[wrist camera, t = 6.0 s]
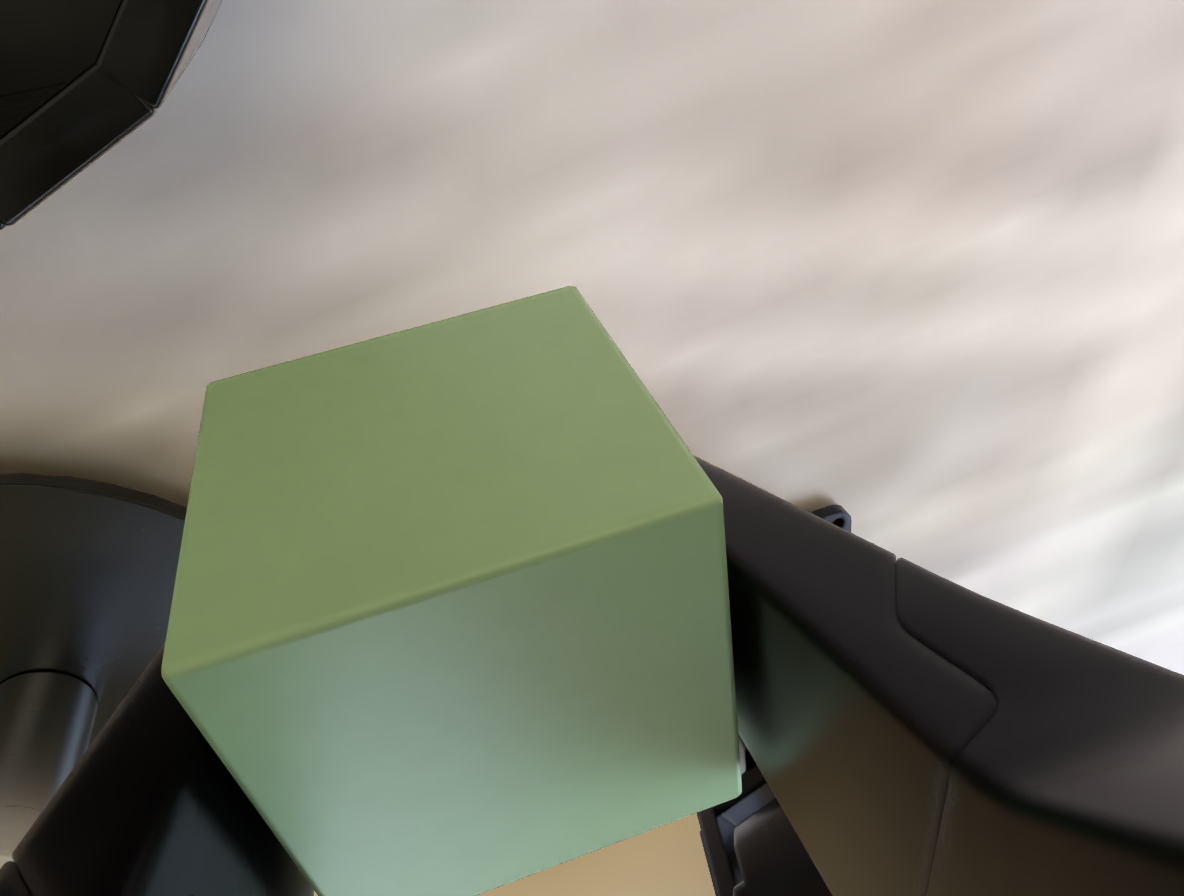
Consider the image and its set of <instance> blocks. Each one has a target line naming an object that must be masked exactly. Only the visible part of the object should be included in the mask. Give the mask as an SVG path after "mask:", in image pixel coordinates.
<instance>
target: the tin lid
mask: <svg viewBox="0 0 1184 896" xmlns="http://www.w3.org/2000/svg"><path fill="white" fill-rule="evenodd" d="M186 512H187V507H184V506H181V505H179V504H176V503H173V502H171V501H168V500H165V499H163V498H160V497H157V496H155V495H151V494H148V493H144V492H140V491H137V490H133V489H129V488H125V487H122V486H118V485H114V484H109V483H103V482H97V481H91V480H86V479H80V478H74V477H67V476H54V475H41V474H27V473H0V869H1V867H2V866H3V865H4V864H5V863H6V862H8V861H13V859H12V853H13V851H14V850H15V848H16V847H17V846H18V844H19V843H20V842H21V840H22V839H23V837H24V836H25V835H26V833H27V832H28V830H29V829H30V828H31V826H32V825H33V824H34V822H35V821H36V819H37V818H38V817H39V815H40V814H41V812H42V811H43V810H44V808H45V807H46V806H47V804H48V803H49V801H50V800H51V799H52V797H53V796H54V794H55V793H56V792H57V790H58V789H59V788H60V786H61V785H62V783H63V782H64V781H65V779H66V778H67V776H68V775H69V774H70V772H71V771H72V770H73V768H74V767H75V765H76V764H77V763H78V761H79V760H80V758H81V757H82V756H83V754H84V753H85V752H86V750H87V749H88V747H89V746H90V745H91V743H92V742H93V740H94V739H95V738H96V736H97V735H98V734H99V732H100V731H101V729H102V728H103V727H104V725H105V724H106V722H107V721H108V720H109V718H110V717H111V716H112V714H113V713H114V711H115V710H116V709H117V707H118V706H119V704H120V703H121V702H122V700H123V699H124V698H125V696H126V695H127V693H128V692H129V691H130V689H131V688H132V686H133V685H134V684H135V682H136V681H137V680H138V678H139V677H140V675H141V674H142V673H143V671H144V670H145V668H146V667H147V666H148V664H149V663H150V662H151V660H152V659H153V657H154V656H155V655H156V653H157V652H158V650H159V649H160V648H161V646H162V645H163V644H164V642H165V641H166V636H167V629H168V623H169V617H170V611H171V605H172V598H173V592H174V586H175V580H176V574H177V567H178V561H179V555H180V549H181V543H182V536H183V530H184V524H185V518H186ZM13 862H14V861H13Z"/></svg>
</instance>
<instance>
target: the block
mask: <svg viewBox="0 0 1184 896" xmlns="http://www.w3.org/2000/svg"><path fill="white" fill-rule="evenodd" d="M161 675H162V678H163V680H164V682H165V683H166V684H167V686H168V687H169V689H170V690H171V691H172V693H173V694H174V696H175V697H176V698H177V700H178V701H179V703H180V704H181V705H182V707H183V708H184V710H185V711H186V712H187V714H188V715H189V717H190V718H191V719H192V721H193V722H194V723H195V725H196V726H197V728H198V729H199V730H200V732H201V733H202V735H203V736H204V737H205V739H206V740H207V742H208V743H209V744H210V746H211V747H212V749H213V750H214V751H215V753H216V754H217V755H218V757H219V758H220V760H221V761H222V762H223V764H224V765H225V767H226V768H227V769H228V771H229V772H230V774H231V775H232V776H233V778H234V779H235V781H236V782H237V783H238V785H239V786H240V787H241V789H242V790H243V792H244V793H245V794H246V796H247V797H248V799H249V800H250V801H251V803H252V804H253V806H254V807H255V808H256V810H257V811H258V813H259V814H260V815H261V817H262V818H263V820H264V821H265V822H266V824H267V825H268V826H269V828H270V829H271V831H272V832H273V833H274V835H275V836H276V838H277V839H278V840H279V842H280V843H281V845H282V846H283V847H284V849H285V850H286V852H287V853H288V854H289V856H290V857H291V858H292V860H293V861H294V863H295V864H296V865H297V867H298V868H299V870H300V871H301V872H302V874H303V875H304V877H305V878H306V879H307V881H308V882H309V884H310V885H311V886H312V888H313V889H314V891H315V892H316V893H317V894H318V896H476V895H479V894H482V893H485V892H487V891H490V890H492V889H495V888H498V887H500V886H503V885H506V884H508V883H511V882H514V881H516V880H519V879H521V878H524V877H527V876H530V875H532V874H535V873H538V872H540V871H543V870H546V869H548V868H551V867H554V866H556V865H559V864H562V863H564V862H567V861H570V860H572V859H575V858H577V857H580V856H583V855H585V854H588V853H591V852H593V851H596V850H599V849H601V848H604V847H607V846H609V845H612V844H615V843H617V842H620V841H623V840H625V839H628V838H630V837H633V836H636V835H639V834H641V833H644V832H647V831H649V830H652V829H654V828H657V827H660V826H663V825H665V824H668V823H670V822H673V821H676V820H678V819H681V818H684V817H686V816H689V815H691V814H694V813H697V812H700V811H702V810H705V809H708V808H710V807H713V806H716V805H718V804H721V803H724V802H726V801H729V800H732V799H734V798H737V797H738V796H739V795H740V794H741V793H742V780H741V765H740V751H739V736H738V721H737V706H736V691H735V677H734V662H733V647H732V632H731V617H730V602H729V588H728V573H727V558H726V543H725V528H724V514H723V499H722V496H721V495H720V493H719V492H718V490H717V489H716V488H715V486H714V485H713V483H712V482H711V480H710V479H709V477H708V476H707V475H706V473H705V472H704V470H703V469H702V467H701V466H700V465H699V463H698V462H697V460H696V459H695V457H694V456H693V455H692V453H691V452H690V450H689V449H688V447H687V446H686V445H685V443H684V442H683V440H682V439H681V437H680V436H679V434H678V433H677V432H676V430H675V429H674V427H673V426H672V424H671V423H670V422H669V420H668V419H667V417H666V416H665V414H664V413H663V412H662V410H661V409H660V407H659V406H658V404H657V403H656V401H655V400H654V399H653V397H652V396H651V394H650V393H649V391H648V390H647V389H646V387H645V386H644V384H643V383H642V381H641V380H640V379H639V377H638V376H637V374H636V373H635V371H634V370H633V369H632V367H631V366H630V364H629V363H628V361H627V360H626V358H625V357H624V356H623V354H622V353H621V351H620V350H619V348H618V347H617V346H616V344H615V343H614V341H613V340H612V338H611V337H610V336H609V334H608V333H607V331H606V330H605V328H604V327H603V326H602V324H601V323H600V321H599V320H598V318H597V317H596V315H595V314H594V313H593V311H592V310H591V308H590V307H589V305H588V304H587V303H586V301H585V300H584V298H583V297H582V295H581V294H580V293H579V291H578V290H577V288H576V287H574V286H567V287H564V288H560V289H556V290H553V291H549V292H545V293H541V294H538V295H534V296H530V297H527V298H523V299H519V300H515V301H512V302H508V303H504V304H500V305H497V306H493V307H489V308H486V309H482V310H478V311H474V312H471V313H467V314H463V315H459V316H456V317H452V318H448V319H445V320H441V321H437V322H433V323H430V324H426V325H422V326H419V327H415V328H411V329H407V330H404V331H400V332H396V333H392V334H389V335H385V336H381V337H378V338H374V339H370V340H366V341H363V342H359V343H355V344H351V345H348V346H344V347H340V348H337V349H333V350H329V351H325V352H322V353H318V354H314V355H311V356H307V357H303V358H299V359H296V360H292V361H288V362H284V363H281V364H277V365H273V366H270V367H266V368H262V369H258V370H255V371H251V372H247V373H243V374H240V375H236V376H232V377H229V378H225V379H221V380H217V381H214V382H212V383H210V384H209V385H208V386H207V388H206V394H205V400H204V406H203V413H202V419H201V425H200V431H199V437H198V444H197V450H196V456H195V462H194V468H193V474H192V481H191V487H190V493H189V499H188V505H187V512H186V518H185V524H184V530H183V536H182V543H181V549H180V555H179V561H178V567H177V574H176V580H175V586H174V592H173V598H172V605H171V611H170V617H169V623H168V629H167V636H166V642H165V648H164V654H163V660H162V667H161Z"/></svg>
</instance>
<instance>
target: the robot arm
mask: <svg viewBox="0 0 1184 896" xmlns="http://www.w3.org/2000/svg"><path fill="white" fill-rule="evenodd" d="M693 456H694V455H693ZM694 457H695V459H696V460H697V462H698V463H699V465H700V466H701V467H702V469H703V470H704V472H705V473H706V475H707V476H708V477H709V479H710V480H711V482H712V483H713V485H714V486H715V488H716V489H717V490H718V492H719V493H720V495H721V496H722V499H723V514H724V528H725V543H726V558H727V573H728V588H729V602H730V617H731V632H732V647H733V662H734V677H735V691H736V706H737V721H738V736H739V751H740V765H741V780H742V793H741V794H740V795H739V796H738V797H737V798H734V799H732V800H729V801H726V802H724V803H721V804H718V805H716V806H713V807H710V808H708V809H705V810H702V811H700V812H697V816H698V820H699V823H700V827H701V831H700V836H701V839H702V843H703V847H704V851H705V855H706V859H707V863H708V867H709V871H710V875H711V878H712V882H713V886H714V890H715V894H716V896H1184V675H1182V674H1179V673H1176V672H1173V671H1171V670H1168V669H1166V668H1163V667H1161V666H1158V665H1155V664H1153V663H1150V662H1148V661H1145V660H1143V659H1140V658H1137V657H1135V656H1132V655H1130V654H1127V653H1125V652H1122V651H1119V650H1117V649H1114V648H1112V647H1109V646H1107V645H1104V644H1101V643H1099V642H1096V641H1094V640H1091V639H1089V638H1086V637H1084V636H1081V635H1078V634H1076V633H1073V632H1071V631H1068V630H1066V629H1063V628H1060V627H1058V626H1055V625H1053V624H1050V623H1048V622H1045V621H1042V620H1040V619H1037V618H1035V617H1032V616H1030V615H1028V614H1025V613H1023V612H1020V611H1018V610H1015V609H1013V608H1011V607H1008V606H1006V605H1003V604H1001V603H998V602H996V601H994V600H991V599H989V598H986V597H984V596H981V595H979V594H977V593H975V592H973V591H971V590H968V589H966V588H964V587H962V586H960V585H958V584H956V583H953V582H951V581H949V580H947V579H945V578H943V577H940V576H938V575H936V574H934V573H932V572H930V571H928V570H926V569H924V568H922V567H920V566H918V565H916V564H914V563H912V562H910V561H907V560H905V559H903V558H898V559H897V561H896V556H895V555H894V554H893V553H891V552H889V551H887V550H885V549H883V548H881V547H878V546H876V545H874V544H872V543H870V542H868V541H866V540H864V539H862V538H860V537H858V536H856V535H854V534H852V533H851V517H850V515H849V514H848V513H847V512H846V511H845V509H844V508H843V507H842V506H840V505H832V506H828V507H825V508H822V509H819V510H816V511H813V512H807V511H805V510H803V509H801V508H799V507H797V506H795V505H793V504H791V503H789V502H787V501H785V500H783V499H781V498H779V497H777V496H775V495H773V494H771V493H769V492H767V491H765V490H763V489H761V488H759V487H757V486H755V485H753V484H751V483H749V482H747V481H745V480H743V479H741V478H738V477H736V476H734V475H732V474H730V473H728V472H726V471H724V470H722V469H720V468H718V467H716V466H714V465H712V464H710V463H708V462H706V461H704V460H702V459H700V458H698V457H696V456H694ZM834 520H835V521H834ZM833 521H834V522H833ZM165 642H166V641H165ZM165 642H164V644H163V645H162V646H161V648H160V649H159V650H158V652H157V653H156V655H155V656H154V657H153V659H152V660H151V662H150V663H149V664H148V666H147V667H146V668H145V670H144V671H143V673H142V674H141V675H140V677H139V678H138V680H137V681H136V682H135V684H134V685H133V686H132V688H131V689H130V691H129V692H128V693H127V695H126V696H125V698H124V699H123V700H122V702H121V703H120V704H119V706H118V707H117V709H116V710H115V711H114V713H113V714H112V716H111V717H110V718H109V720H108V721H107V722H106V724H105V725H104V727H103V728H102V729H101V731H100V732H99V734H98V735H97V736H96V738H95V739H94V740H93V742H92V743H91V745H90V746H89V747H88V749H87V750H86V752H85V753H84V754H83V756H82V757H81V758H80V760H79V761H78V763H77V764H76V765H75V767H74V768H73V770H72V771H71V772H70V774H69V775H68V776H67V778H66V779H65V781H64V782H63V783H62V785H61V786H60V788H59V789H58V790H57V792H56V793H55V794H54V796H53V797H52V799H51V800H50V801H49V803H48V804H47V806H46V807H45V808H44V810H43V811H42V812H41V814H40V815H39V817H38V818H37V819H36V821H35V822H34V824H33V825H32V826H31V828H30V829H29V830H28V832H27V833H26V835H25V836H24V837H23V839H22V840H21V842H20V843H19V844H18V846H17V847H16V848H15V850H14V851H13V853H12V859H13V861H14V862H13V861H8V862H6V863H5V864H4V865H3V866H2V867H1V869H0V896H314V889H313V888H312V886H311V885H310V884H309V882H308V881H307V879H306V878H305V877H304V875H303V874H302V872H301V871H300V870H299V868H298V867H297V865H296V864H295V863H294V861H293V860H292V858H291V857H290V856H289V854H288V853H287V852H286V850H285V849H284V847H283V846H282V845H281V843H280V842H279V840H278V839H277V838H276V836H275V835H274V833H273V832H272V831H271V829H270V828H269V826H268V825H267V824H266V822H265V821H264V820H263V818H262V817H261V815H260V814H259V813H258V811H257V810H256V808H255V807H254V806H253V804H252V803H251V801H250V800H249V799H248V797H247V796H246V794H245V793H244V792H243V790H242V789H241V787H240V786H239V785H238V783H237V782H236V781H235V779H234V778H233V776H232V775H231V774H230V772H229V771H228V769H227V768H226V767H225V765H224V764H223V762H222V761H221V760H220V758H219V757H218V755H217V754H216V753H215V751H214V750H213V749H212V747H211V746H210V744H209V743H208V742H207V740H206V739H205V737H204V736H203V735H202V733H201V732H200V730H199V729H198V728H197V726H196V725H195V723H194V722H193V721H192V719H191V718H190V717H189V715H188V714H187V712H186V711H185V710H184V708H183V707H182V705H181V704H180V703H179V701H178V700H177V698H176V697H175V696H174V694H173V693H172V691H171V690H170V689H169V687H168V686H167V684H166V683H165V682H164V680H163V678H162V675H161V667H162V660H163V654H164V648H165Z"/></svg>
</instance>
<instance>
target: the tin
mask: <svg viewBox="0 0 1184 896" xmlns="http://www.w3.org/2000/svg"><path fill="white" fill-rule="evenodd" d="M221 1H222V0H0V230H2V229H3V228H5V227H6V226H9V225H13V224H15V223H16V222H17V221H18V220H20V219H21V218H22V217H23V216H25V215H26V214H27V213H29V212H30V211H31V210H32V209H34V208H35V207H36V206H38V205H39V204H40V203H41V202H43V201H44V200H45V199H47V198H48V197H49V196H50V195H52V194H53V193H54V192H56V191H57V190H58V189H59V188H61V187H62V186H63V185H65V184H66V183H67V182H68V181H70V180H71V179H72V178H74V177H75V176H76V175H77V174H79V173H80V172H81V171H83V170H84V169H85V168H86V167H88V166H89V165H90V164H92V163H93V162H94V161H95V160H97V159H98V158H99V157H101V156H102V155H103V154H104V153H106V152H107V151H108V150H109V149H111V148H112V147H113V146H115V145H116V144H117V143H118V142H120V141H121V140H122V139H124V138H125V137H126V136H127V135H129V134H130V133H131V132H133V131H134V130H135V129H136V128H138V127H139V126H140V125H142V124H143V123H144V122H145V121H147V120H148V119H149V118H151V117H152V116H153V115H154V114H155V112H156V111H157V109H158V108H159V107H160V106H161V105H162V103H163V102H164V100H165V99H166V97H167V96H168V94H169V92H170V91H171V89H172V88H173V86H174V85H175V83H176V82H177V80H178V79H179V77H180V76H181V74H182V73H183V71H184V70H185V68H186V67H187V65H188V63H189V62H190V60H191V59H192V57H193V56H194V54H195V53H196V51H197V50H198V48H199V47H200V45H201V44H202V42H203V41H204V38H205V36H206V34H207V32H208V30H209V28H210V25H211V23H212V21H213V19H214V17H215V15H216V12H217V10H218V8H219V6H220V4H221Z"/></svg>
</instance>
